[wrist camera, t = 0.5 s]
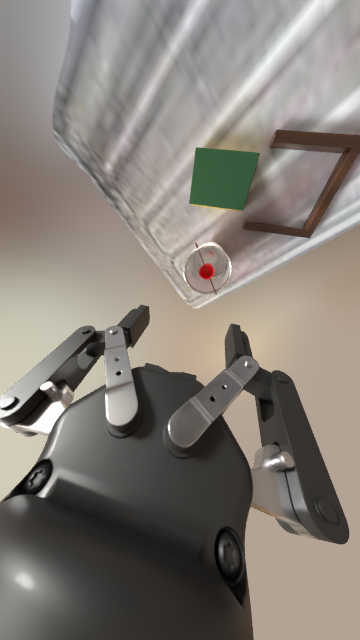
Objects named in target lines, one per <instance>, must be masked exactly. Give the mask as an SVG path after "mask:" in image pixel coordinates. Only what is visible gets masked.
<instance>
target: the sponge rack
mask: <svg viewBox="0 0 360 640" xmlns="http://www.w3.org/2000/svg"><path fill="white" fill-rule="evenodd" d="M269 147H270V148H282V149H295V150H307V151H320V152H333V153H343V154H342V156H341V157H340V159H339V161H338V163H337V165H336V167H335V169H334V171H333V172H332V174H331V176H330V178H329V180H328V182H327V184H326V186H325V188H324V189H323V191H322V193H321V195H320V197H319V199H318V201H317V203H316V204H315V206H314V208H313V210H312V212H311V214H310V216H309V218H308V219H307V221H306V223H305V225H304V227H303V229H297V228H290V227H283V226H275V225H268V224H261V223H253V222H245V224H244V227H243V228H244V229H249V230H256V231H263V232H270V233H277V234H284V235H291V236H298V237H305V238H310V237H311V235H312V233H313V232H314V230H315V228H316V226H317V225H318V223H319V221H320V220H321V218H322V216H323V214H324V213H325V211H326V209H327V207H328V206H329V204H330V202H331V200H332V199H333V197H334V195H335V194H336V192H337V190H338V188H339V187H340V185H341V183H342V181H343V180H344V178H345V176H346V174H347V173H348V171H349V169H350V168H351V166H352V164H353V162H354V161H355V159H356V157H357V155H358V154H359V152H360V135H347V134H332V133H317V132H302V131H287V130H276V132H275V133H274V135H273V137H272V140H271V143H270V146H269Z"/></svg>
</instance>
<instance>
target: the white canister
mask: <svg viewBox="0 0 360 640" xmlns="http://www.w3.org/2000/svg"><path fill="white" fill-rule="evenodd" d="M195 244H196V247H197V249H195V250H194V251H192V252H191V253H190V254H189V256H188V257H187V259H186V261H185V263H184V267H183V276H184V279H185V282H186V284H187V285H188V286H189V287H190V288H191V289H192V290H193V291H195V292H197V293H199V294H205V295H208V294H213V293H215V294H217V293H216V292H218V291H220V290H221V289H223V288H224V287H225V286H226V285H227V283H228V282H229V280H230V277H231V274H232V264H231V261H230V258H229V257H228V255H227V254H226V253H225V251H224V250H223V248H222V247H221V246H220V245H219V244H217V243H215V242H208V243H205V244H203V245H202V246H200V247H199V248H198V246H197V243H195Z"/></svg>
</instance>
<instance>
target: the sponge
mask: <svg viewBox="0 0 360 640" xmlns="http://www.w3.org/2000/svg"><path fill="white" fill-rule="evenodd" d="M259 155H260V153H256V152H244V151H232V150H220V149H209V148H197V147H196V151H195V159H194V168H193V176H192V185H191V194H190V202H189V203H190V204H191V205H195V206H203V207H211V208H218V209H226V210H234V211H242V210H243V209H244V205H245V202H246V199H247V195H248V192H249V189H250V185H251V182H252V179H253V175H254V172H255V169H256V165H257V162H258V159H259Z"/></svg>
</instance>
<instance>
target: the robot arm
mask: <svg viewBox="0 0 360 640" xmlns="http://www.w3.org/2000/svg"><path fill="white" fill-rule="evenodd" d="M149 320H150V316H149V306H144V305H140V306H139V307H138V309H133V310H131V311H130V312H129V313H128V315H126V316H125V317H124V318H123V320H122V321H121V322H120V323H119V324H118V325H117V326H112V327H109V328H107V329H106V330H105V331H95V328H94V327H92V326H84V327H81V328H79V329H78V330H76V331H75V332H74V333H73V334H72V335H71V336H70V337H68V338H67V339H66V340H65V341H64V342H63V343H62V344H60V345H59V346H58V347H57V348H56V349H55V350H54V351H53V352H52V353H50V354H49V355H48V356H47V357H46V358H44V359H43V360H42V361H41V362H40V363H39V364H38V365H37V366H35V367H34V368H33V369H32V370H31V371H30V372H29V373H28V374H26V375H25V376H24V377H23V378H22V379H21V380H19V381H18V382H17V383H16V384H15V385H14V386H13V387H11V388H10V389H9V390H8V391H7V392H6V393H4V394H3V395H2V396H1V397H0V424H1V425H2V426H4V427H6V428H8V429H10V430H12V431H14V432H16V433H21V434H22V435H24V436H27V437H31V436H34V435H37V434H38V433H39V434H43V435H47V436H48V439H47V442H46V444H45V447H44V449H43V451H42V453H41V455H40V457H39V459H38V461H37V462H36V464H35V465H34V467H33V468H32V469H31V471H30V472H29V473H28V474H27V475H26V476H25V477H24V479H23V480H22V481H21V482H20V483H19V484H18V485H17V486H16V487H15V488H14V489H13V490H12V491H11V492H10V493H9V494H8V495H7V496H6V497H5V498H4V499H3V500H2V501H1V502H0V640H253V627H252V616H251V605H250V596H249V587H248V579H247V570H246V563H245V543H244V542H245V529H246V522H247V516H248V513H249V509H250V507H253V508H255V509H257V510H260V511H262V512H264V513H266V514H268V515H271V516H273V517H275V518H276V520H277V521H278V523H279V524H280V525H281V527H282V528H283V529H284V530H286V531H287V532H289V533H292V534H297V535H301V536H306V537H310V538H315V539H319V540H323V541H328V542H332V543H337V544H345V543H346V542H347V541H348V538H349V528H348V524H347V520H346V518H345V515H344V513H343V510H342V507H341V505H340V502H339V499H338V497H337V495H336V492H335V489H334V486H333V484H332V481H331V479H330V476H329V473H328V471H327V468H326V466H325V463H324V460H323V458H322V455H321V453H320V450H319V447H318V445H317V442H316V440H315V437H314V434H313V432H312V429H311V427H310V424H309V422H308V419H307V416H306V414H305V411H304V409H303V406H302V404H301V401H300V398H299V395H298V393H297V390H296V388H295V385H294V383H293V381H292V379H291V378H290V377H289V376H288V375H287V374H285V373H284V372H281V371H278V370H276V371H273V372H272V373H270V372H268V371H266V370H264V369H262V368H261V367H259V364H258V363H257V361H256V360H255V359H253V356H252V352H251V348H250V345H249V340H248V336H247V335H246V334H245V332H243V331H241V330H240V325H236V324H230V327H229V329H228V332H227V334H226V337H225V358H226V369H224V370H223V371H222V372H221V373H220V374H219V375H218V376H217V377H216V378H214V379H213V380H212V381H211V382H210V383H209V384H208V385H207V386H203V384H201V383H200V382H199V381H197V380H196V375H191V374H188V373H184V372H182V373H181V372H180V373H179V372H168V371H167V370H165V369H163V368H161V367H159V366H156V365H153V364H149V363H146V364H145V366H144V367H137V368H134V369H131V367H130V363H129V357H128V353H127V348H128V347H132V348H133V347H134V345H135V344H136V342H137V341H138V339H139V338H140V336H141V335H142V333H143V332H144V330H145V329H146V327H147V326H148V324H149ZM83 350H84V351H83ZM82 351H83V352H82ZM81 352H82V353H81ZM80 353H81V354H80ZM79 354H80V355H79ZM78 355H79V357H78ZM101 355H104V357H105V378H106V384H105V385H103V386H101V387H100V388H98V389H97V390H95V391H93V392H91V393H90V394H88V395H86V396H84V397H82V398H81V399H79V400H77V401H76V402H74V403H72V404H71V402H72V400H73V397H74V394H73V392H74V391H75V389H76V388H77V386H78V385H79V384H80V383H81V381H82V380H83V379H84V377H85V376H86V375H87V373H88V372H89V371H90V370H91V368H92V367H93V365H94V364H95V363H96V362H97V360H98V359H99V358H100V356H101ZM243 389H244V390H246V391H247V392H249V393H251V394H252V395H255V400H256V407H257V414H258V421H259V428H260V436H261V443H262V448H260V449H258V450H257V451H256V453H255V460H254V461H255V462H254V466H253V468H252V469H250V466H249V464H248V461H247V459H246V457H245V455H244V453H243V451H242V450H241V448H240V446H239V444H238V443H237V441H236V439H235V437H234V436H233V434H232V432H231V430H230V428H229V427H228V425H227V423H226V422H225V420H224V418H223V416H222V415H223V414H224V412H225V411H226V410H227V409H228V407H229V406H230V405H231V404H232V403H233V401H234V400H235V399H236V398H237V396H238V395H239V394H240V393H241V392H242V390H243Z"/></svg>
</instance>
